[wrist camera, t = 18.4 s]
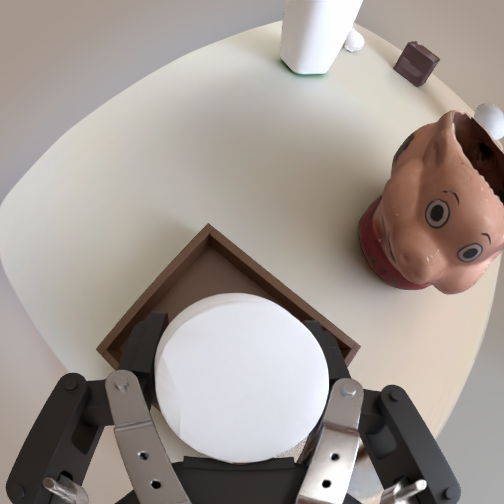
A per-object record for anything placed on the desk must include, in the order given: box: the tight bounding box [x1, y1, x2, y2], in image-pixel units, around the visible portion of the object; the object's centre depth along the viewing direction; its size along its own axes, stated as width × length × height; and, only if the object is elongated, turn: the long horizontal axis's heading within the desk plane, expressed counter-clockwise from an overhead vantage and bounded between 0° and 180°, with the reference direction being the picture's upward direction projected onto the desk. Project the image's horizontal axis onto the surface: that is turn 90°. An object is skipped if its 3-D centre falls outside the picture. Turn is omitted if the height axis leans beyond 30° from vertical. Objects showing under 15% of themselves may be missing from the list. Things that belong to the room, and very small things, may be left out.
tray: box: [96, 223, 361, 465], centre depth 18 cm, size 14×12×3 cm
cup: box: [280, 0, 363, 75], centre depth 25 cm, size 7×7×15 cm
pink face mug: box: [359, 110, 504, 294], centre depth 18 cm, size 20×12×14 cm, turn 137°
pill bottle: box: [154, 293, 329, 463], centre depth 11 cm, size 6×6×11 cm
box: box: [394, 41, 440, 87], centre depth 33 cm, size 6×6×7 cm
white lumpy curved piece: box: [343, 26, 364, 52], centre depth 33 cm, size 6×8×12 cm
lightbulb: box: [474, 103, 504, 140], centre depth 27 cm, size 6×6×11 cm
